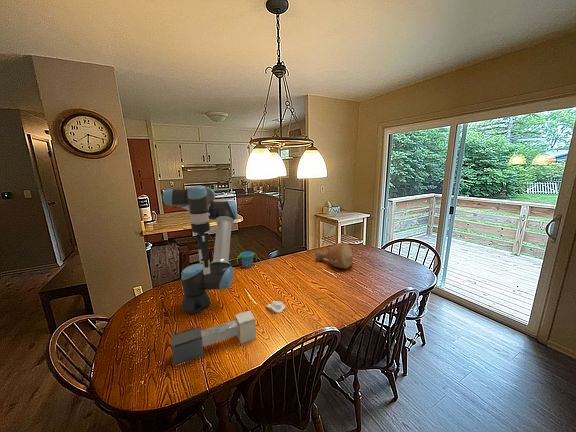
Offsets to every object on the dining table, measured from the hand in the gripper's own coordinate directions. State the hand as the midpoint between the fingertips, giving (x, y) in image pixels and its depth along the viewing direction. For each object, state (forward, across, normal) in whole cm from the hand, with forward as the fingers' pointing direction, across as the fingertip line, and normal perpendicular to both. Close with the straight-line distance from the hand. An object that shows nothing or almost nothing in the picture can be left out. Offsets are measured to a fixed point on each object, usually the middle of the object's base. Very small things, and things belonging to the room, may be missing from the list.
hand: (204, 267), depth 106 cm
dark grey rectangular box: (+32, -13, +10) cm, 36 cm away
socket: (+32, -13, -14) cm, 37 cm away
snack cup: (+32, +60, -37) cm, 77 cm away
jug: (+32, +30, -97) cm, 107 cm away
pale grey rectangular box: (+28, -13, -4) cm, 31 cm away
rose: (+32, 0, -34) cm, 47 cm away
